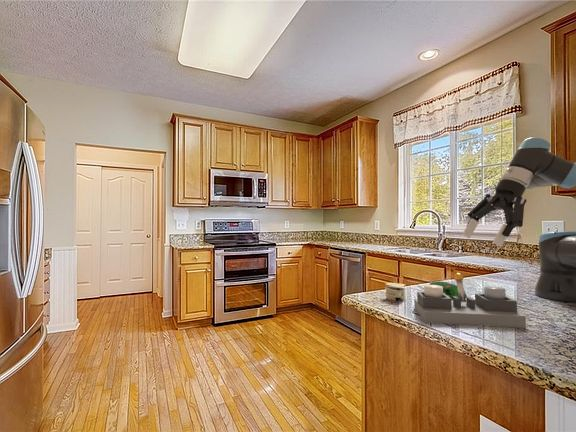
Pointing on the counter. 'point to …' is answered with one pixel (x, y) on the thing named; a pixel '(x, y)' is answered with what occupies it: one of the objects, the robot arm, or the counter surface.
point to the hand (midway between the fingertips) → (480, 240)
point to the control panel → (469, 311)
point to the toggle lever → (460, 286)
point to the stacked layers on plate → (395, 291)
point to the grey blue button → (494, 293)
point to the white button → (433, 291)
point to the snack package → (448, 289)
